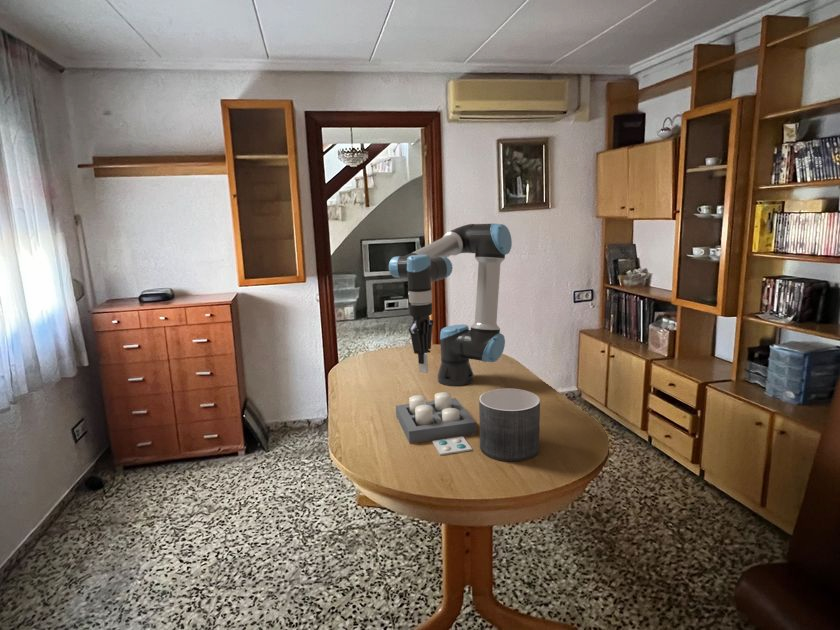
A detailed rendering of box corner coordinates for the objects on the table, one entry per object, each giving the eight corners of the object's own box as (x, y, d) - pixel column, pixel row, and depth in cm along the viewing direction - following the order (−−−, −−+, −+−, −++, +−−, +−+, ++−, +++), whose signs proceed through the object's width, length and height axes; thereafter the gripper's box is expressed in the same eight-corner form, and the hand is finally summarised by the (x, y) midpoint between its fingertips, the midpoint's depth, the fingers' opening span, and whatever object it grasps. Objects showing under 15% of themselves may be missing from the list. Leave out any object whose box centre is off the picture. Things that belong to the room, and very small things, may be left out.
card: (462, 437, 165) (462, 435, 164) (472, 450, 156) (472, 448, 156) (432, 442, 162) (432, 440, 162) (440, 455, 154) (440, 453, 154)
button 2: (430, 419, 173) (429, 403, 171) (434, 426, 167) (434, 410, 166) (414, 421, 171) (413, 406, 170) (418, 428, 166) (417, 412, 165)
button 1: (424, 409, 181) (423, 394, 180) (427, 415, 176) (427, 400, 175) (408, 411, 180) (407, 396, 179) (411, 417, 175) (411, 402, 173)
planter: (541, 463, 147) (541, 411, 143) (478, 460, 150) (477, 409, 147) (538, 435, 164) (538, 388, 160) (481, 433, 167) (480, 387, 164)
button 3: (448, 406, 183) (448, 391, 182) (453, 412, 178) (452, 396, 177) (433, 408, 182) (432, 393, 181) (437, 414, 177) (437, 399, 175)
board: (455, 408, 188) (455, 397, 187) (476, 433, 167) (475, 422, 166) (396, 416, 183) (395, 405, 182) (409, 443, 162) (409, 431, 161)
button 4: (456, 422, 175) (456, 406, 174) (461, 428, 170) (461, 413, 169) (440, 424, 174) (440, 409, 173) (445, 431, 169) (444, 415, 167)
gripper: (420, 298, 175) (423, 364, 181) (400, 306, 164) (403, 376, 170) (439, 299, 172) (442, 367, 177) (420, 307, 161) (424, 379, 166)
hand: (423, 371), depth 173 cm, fingers closed
